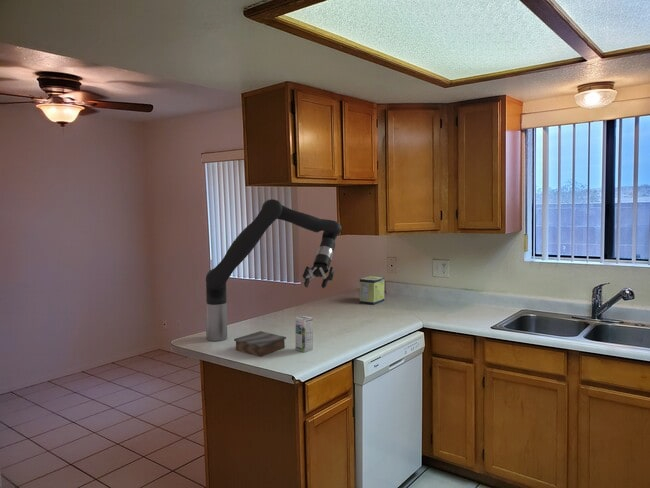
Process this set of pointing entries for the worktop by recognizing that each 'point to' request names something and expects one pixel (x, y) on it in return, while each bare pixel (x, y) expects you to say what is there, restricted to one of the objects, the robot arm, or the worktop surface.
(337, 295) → the worktop surface
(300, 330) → the syrup box
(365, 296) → the protein box
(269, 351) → the podium
